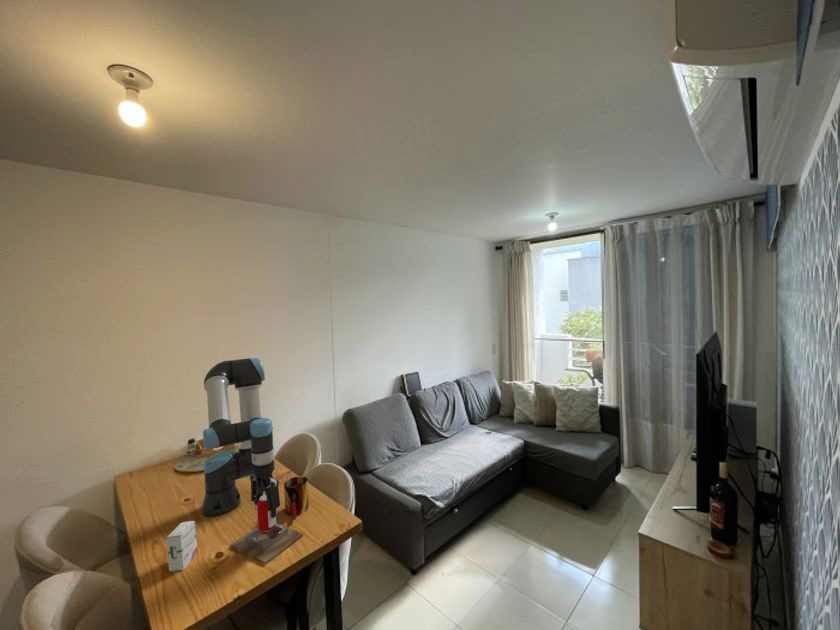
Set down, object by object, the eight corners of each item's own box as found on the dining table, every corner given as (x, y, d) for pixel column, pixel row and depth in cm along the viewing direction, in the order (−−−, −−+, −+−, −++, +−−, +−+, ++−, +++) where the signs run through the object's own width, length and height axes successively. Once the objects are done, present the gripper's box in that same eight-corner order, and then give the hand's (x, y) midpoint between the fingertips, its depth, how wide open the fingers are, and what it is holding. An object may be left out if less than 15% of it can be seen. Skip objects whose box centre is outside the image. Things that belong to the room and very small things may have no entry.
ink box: (183, 553, 121) (181, 521, 121) (198, 552, 121) (196, 519, 121) (167, 572, 112) (165, 537, 112) (183, 570, 113) (181, 535, 113)
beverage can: (266, 522, 129) (265, 491, 129) (280, 524, 128) (278, 493, 127) (254, 532, 124) (253, 500, 123) (268, 535, 122) (266, 502, 122)
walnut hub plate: (230, 547, 123) (230, 544, 123) (269, 522, 137) (268, 519, 137) (265, 565, 114) (265, 562, 114) (303, 536, 127) (302, 533, 127)
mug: (293, 523, 136) (291, 494, 135) (282, 509, 146) (280, 481, 146) (316, 513, 142) (315, 485, 142) (304, 500, 152) (302, 474, 152)
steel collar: (245, 543, 123) (245, 535, 123) (270, 526, 132) (270, 519, 132) (263, 552, 118) (263, 544, 118) (288, 534, 127) (287, 527, 127)
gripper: (238, 461, 126) (241, 521, 127) (271, 471, 117) (274, 536, 117) (256, 453, 133) (259, 511, 133) (288, 462, 123) (292, 524, 124)
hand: (266, 522), depth 125 cm, fingers closed on beverage can, 6 cm apart
